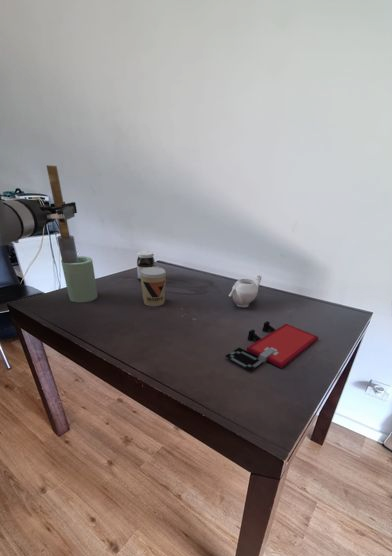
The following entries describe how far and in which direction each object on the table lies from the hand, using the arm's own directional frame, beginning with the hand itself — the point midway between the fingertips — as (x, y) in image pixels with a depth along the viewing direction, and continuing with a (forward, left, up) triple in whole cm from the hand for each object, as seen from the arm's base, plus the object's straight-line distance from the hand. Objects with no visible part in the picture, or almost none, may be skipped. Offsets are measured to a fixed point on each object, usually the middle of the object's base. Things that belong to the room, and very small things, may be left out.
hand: (69, 207), depth 81 cm
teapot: (+53, +20, -32) cm, 65 cm away
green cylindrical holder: (-7, +10, -32) cm, 34 cm away
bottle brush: (+1, -5, -14) cm, 15 cm away
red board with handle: (+63, -9, -32) cm, 71 cm away
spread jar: (+11, +36, -32) cm, 49 cm away
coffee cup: (+20, +13, -32) cm, 40 cm away
